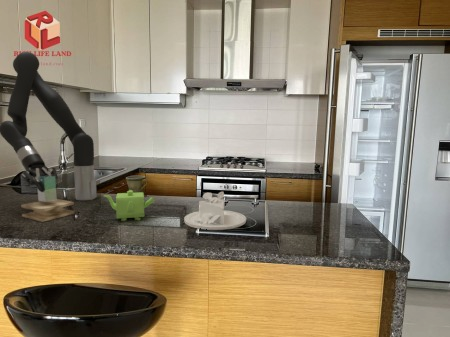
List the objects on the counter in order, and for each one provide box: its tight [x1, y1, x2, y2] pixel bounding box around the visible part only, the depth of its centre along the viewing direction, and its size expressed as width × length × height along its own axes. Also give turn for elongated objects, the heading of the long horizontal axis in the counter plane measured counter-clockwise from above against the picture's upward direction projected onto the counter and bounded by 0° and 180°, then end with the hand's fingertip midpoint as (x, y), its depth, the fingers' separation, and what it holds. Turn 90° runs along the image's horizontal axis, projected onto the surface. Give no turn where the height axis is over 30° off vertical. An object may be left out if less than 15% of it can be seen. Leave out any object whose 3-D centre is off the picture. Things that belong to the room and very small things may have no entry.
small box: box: [19, 174, 38, 195], centre depth 180 cm, size 11×6×10 cm, turn 84°
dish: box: [183, 191, 247, 231], centre depth 131 cm, size 25×25×11 cm
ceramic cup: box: [125, 175, 149, 193], centre depth 175 cm, size 13×10×10 cm
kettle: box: [103, 189, 155, 222], centre depth 133 cm, size 15×14×11 cm
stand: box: [20, 198, 75, 223], centre depth 136 cm, size 14×14×5 cm
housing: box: [37, 175, 58, 202], centre depth 135 cm, size 5×5×10 cm
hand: (49, 189), depth 134 cm, fingers closed on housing, 4 cm apart
